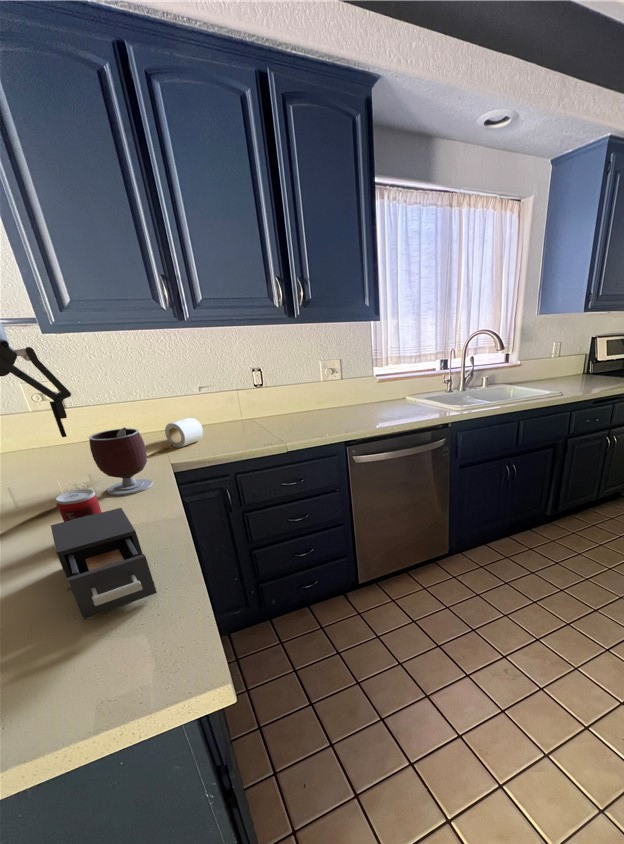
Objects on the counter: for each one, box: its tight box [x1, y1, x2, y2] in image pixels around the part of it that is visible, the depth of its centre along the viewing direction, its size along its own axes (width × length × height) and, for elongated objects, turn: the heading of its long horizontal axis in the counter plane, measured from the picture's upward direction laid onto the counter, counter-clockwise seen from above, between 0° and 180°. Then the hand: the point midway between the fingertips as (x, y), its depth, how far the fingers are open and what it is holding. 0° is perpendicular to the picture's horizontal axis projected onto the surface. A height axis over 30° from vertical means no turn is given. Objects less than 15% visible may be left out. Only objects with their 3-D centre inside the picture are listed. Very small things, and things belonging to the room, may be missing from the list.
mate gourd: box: [88, 426, 153, 497], centre depth 128 cm, size 16×14×20 cm
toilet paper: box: [164, 417, 204, 449], centre depth 175 cm, size 10×10×10 cm
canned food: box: [55, 488, 103, 522], centre depth 100 cm, size 8×8×11 cm
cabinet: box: [50, 507, 144, 579], centre depth 87 cm, size 15×13×10 cm
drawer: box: [66, 537, 158, 620], centre depth 77 cm, size 18×12×8 cm, turn 39°
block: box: [85, 549, 124, 571], centre depth 79 cm, size 6×6×6 cm
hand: (20, 442), depth 80 cm, fingers open, 13 cm apart
